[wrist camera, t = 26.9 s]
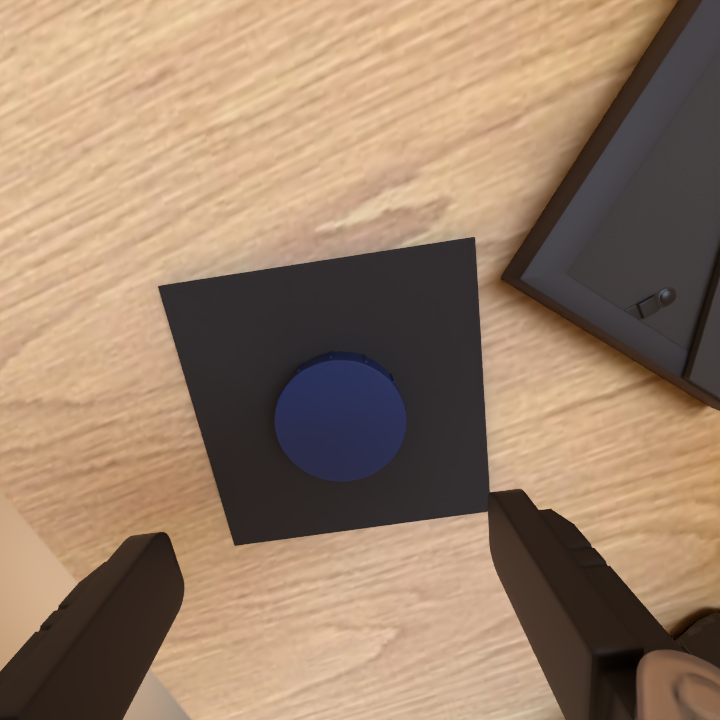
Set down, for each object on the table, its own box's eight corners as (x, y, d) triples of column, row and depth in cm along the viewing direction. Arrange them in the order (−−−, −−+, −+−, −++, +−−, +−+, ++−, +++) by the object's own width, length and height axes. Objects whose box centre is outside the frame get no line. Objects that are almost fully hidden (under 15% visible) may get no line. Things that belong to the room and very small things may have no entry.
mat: (239, 535, 19) (234, 546, 18) (167, 285, 16) (157, 286, 15) (485, 501, 19) (491, 511, 18) (469, 238, 15) (475, 236, 15)
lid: (411, 359, 16) (416, 368, 14) (392, 468, 17) (396, 487, 16) (286, 344, 16) (278, 352, 14) (278, 456, 17) (270, 475, 16)
